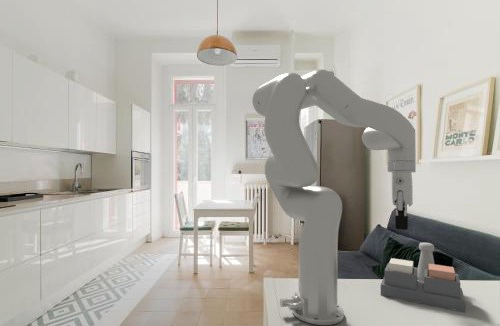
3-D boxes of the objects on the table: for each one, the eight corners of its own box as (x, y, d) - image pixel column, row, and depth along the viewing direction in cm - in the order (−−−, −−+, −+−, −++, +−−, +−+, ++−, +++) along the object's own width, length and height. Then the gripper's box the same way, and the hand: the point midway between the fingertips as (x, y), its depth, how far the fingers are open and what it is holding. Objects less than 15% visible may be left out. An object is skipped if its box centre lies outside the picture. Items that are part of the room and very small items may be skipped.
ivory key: (389, 275, 88) (389, 263, 88) (391, 269, 93) (391, 258, 93) (412, 279, 85) (412, 266, 85) (413, 273, 90) (413, 261, 90)
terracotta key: (428, 281, 83) (428, 269, 83) (428, 275, 88) (428, 263, 88) (455, 286, 80) (454, 273, 80) (453, 279, 85) (453, 267, 85)
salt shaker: (440, 288, 93) (440, 245, 93) (420, 286, 94) (420, 244, 95) (432, 281, 99) (432, 241, 99) (413, 279, 100) (413, 240, 100)
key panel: (380, 294, 87) (380, 270, 87) (384, 284, 96) (385, 261, 96) (465, 312, 77) (464, 284, 77) (461, 298, 85) (461, 273, 86)
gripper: (414, 167, 82) (415, 235, 81) (416, 167, 94) (416, 226, 94) (384, 167, 85) (384, 231, 85) (390, 167, 98) (390, 224, 98)
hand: (401, 228), depth 89 cm, fingers closed
